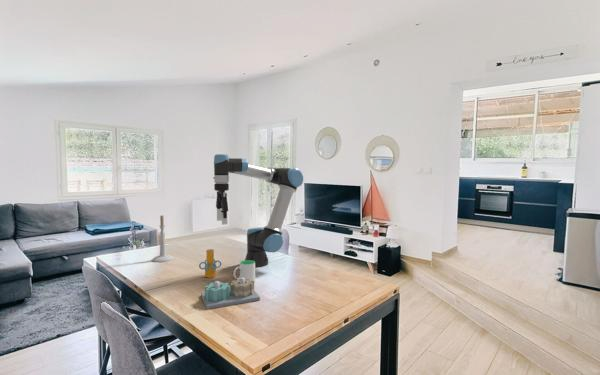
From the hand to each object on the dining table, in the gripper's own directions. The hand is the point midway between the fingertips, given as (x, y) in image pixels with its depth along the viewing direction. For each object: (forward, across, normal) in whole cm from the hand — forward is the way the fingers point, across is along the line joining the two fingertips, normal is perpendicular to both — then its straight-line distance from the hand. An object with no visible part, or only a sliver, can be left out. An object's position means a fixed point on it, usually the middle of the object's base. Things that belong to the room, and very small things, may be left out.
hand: (222, 222), depth 179 cm
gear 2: (+30, +26, +4) cm, 40 cm away
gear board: (+32, +26, -2) cm, 41 cm away
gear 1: (+30, +26, -8) cm, 41 cm away
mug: (+32, +8, +10) cm, 34 cm away
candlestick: (+32, -57, -28) cm, 71 cm away
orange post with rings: (+32, -9, -5) cm, 34 cm away
